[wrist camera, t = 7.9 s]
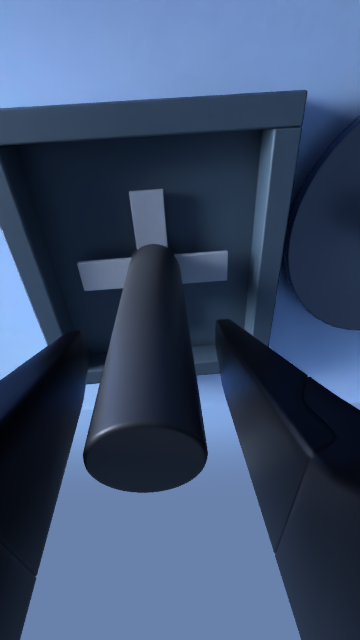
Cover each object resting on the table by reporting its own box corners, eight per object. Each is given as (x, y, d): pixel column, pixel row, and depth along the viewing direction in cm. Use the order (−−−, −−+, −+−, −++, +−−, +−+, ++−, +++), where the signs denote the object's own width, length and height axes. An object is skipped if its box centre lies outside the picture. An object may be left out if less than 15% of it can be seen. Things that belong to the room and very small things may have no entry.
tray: (255, 348, 18) (265, 370, 16) (72, 362, 17) (63, 386, 16) (286, 96, 11) (309, 89, 9) (-15, 115, 11) (-48, 111, 9)
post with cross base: (221, 317, 16) (292, 523, 7) (100, 326, 16) (29, 548, 7) (226, 183, 12) (379, 294, 4) (65, 194, 12) (-164, 335, 3)
